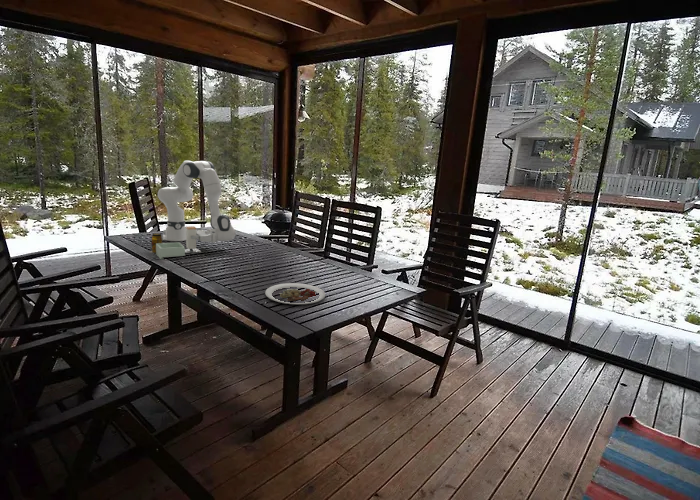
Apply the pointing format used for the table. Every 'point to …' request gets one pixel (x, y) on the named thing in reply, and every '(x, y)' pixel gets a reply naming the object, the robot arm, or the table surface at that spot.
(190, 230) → the white tall cylinder
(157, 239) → the condiment
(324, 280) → the table surface
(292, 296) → the plated food
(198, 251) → the stud base
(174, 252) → the bin
